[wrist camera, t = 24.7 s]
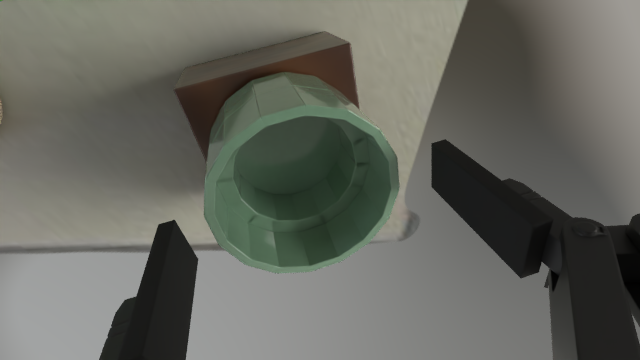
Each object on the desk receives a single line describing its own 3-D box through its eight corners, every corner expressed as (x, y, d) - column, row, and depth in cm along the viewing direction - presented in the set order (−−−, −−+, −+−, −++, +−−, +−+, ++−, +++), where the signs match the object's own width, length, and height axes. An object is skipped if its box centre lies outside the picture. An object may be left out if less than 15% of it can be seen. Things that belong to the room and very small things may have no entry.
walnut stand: (326, 30, 25) (350, 42, 20) (347, 153, 31) (370, 186, 26) (184, 67, 24) (172, 89, 19) (235, 187, 30) (236, 227, 25)
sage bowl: (344, 52, 20) (391, 80, 14) (363, 182, 25) (403, 241, 20) (184, 95, 19) (165, 143, 13) (240, 221, 24) (244, 294, 19)
